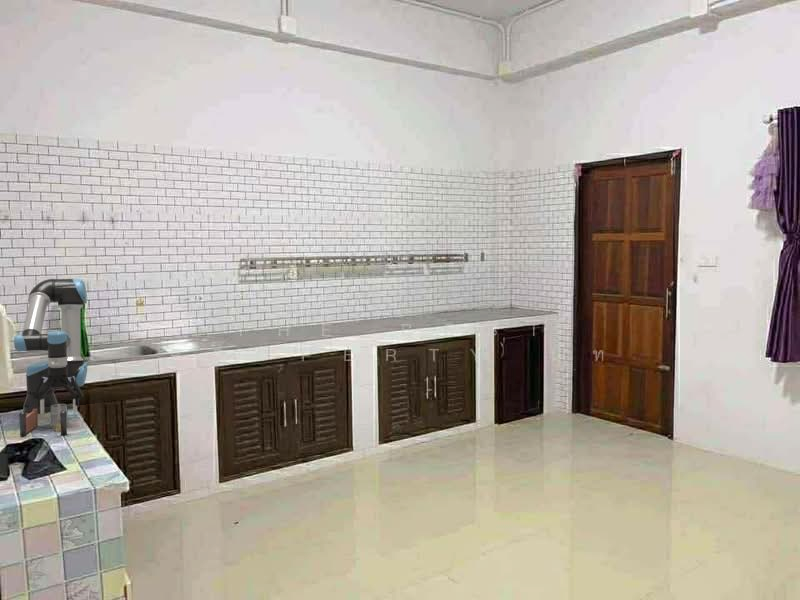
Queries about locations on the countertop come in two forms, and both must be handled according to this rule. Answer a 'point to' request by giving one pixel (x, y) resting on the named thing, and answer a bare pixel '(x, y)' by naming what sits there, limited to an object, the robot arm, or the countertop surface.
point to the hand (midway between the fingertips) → (58, 413)
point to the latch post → (62, 423)
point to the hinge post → (22, 424)
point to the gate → (31, 420)
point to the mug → (57, 414)
